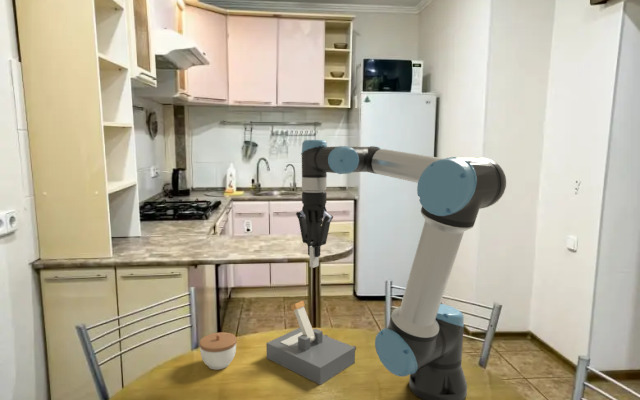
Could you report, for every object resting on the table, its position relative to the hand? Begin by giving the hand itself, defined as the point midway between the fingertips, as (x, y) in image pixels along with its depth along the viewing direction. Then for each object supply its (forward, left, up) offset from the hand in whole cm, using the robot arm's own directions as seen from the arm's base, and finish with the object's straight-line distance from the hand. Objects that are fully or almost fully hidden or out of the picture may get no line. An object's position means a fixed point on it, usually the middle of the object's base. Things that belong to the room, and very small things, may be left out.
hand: (314, 266), depth 131 cm
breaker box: (-3, +5, -28) cm, 29 cm away
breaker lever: (-3, +5, -21) cm, 22 cm away
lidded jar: (+16, +25, -28) cm, 41 cm away
